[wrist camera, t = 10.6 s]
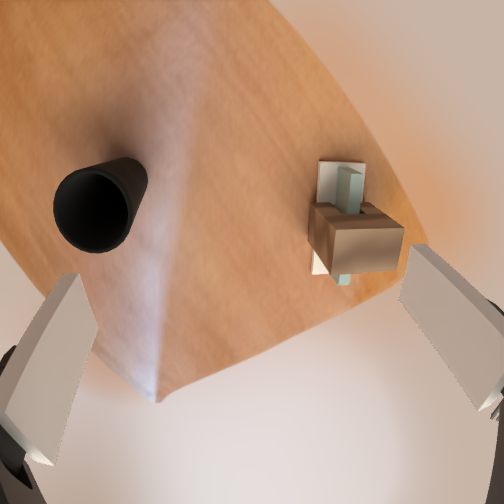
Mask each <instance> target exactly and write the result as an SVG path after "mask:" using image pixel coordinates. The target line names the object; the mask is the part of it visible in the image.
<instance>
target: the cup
mask: <svg viewBox="0 0 504 504" xmlns="http://www.w3.org/2000/svg"><path fill="white" fill-rule="evenodd" d="M147 184H148V178H147V173H146V171H145V169H144V167H143V166H142V165H141V164H140V163H139V162H138V161H136V160H134V159H131V158H121V159H117V160H113V161H109V162H105V163H101V164H97V165H94V166H90V167H86V168H83V169H80V170H76V171H74V172H72V173H71V174H69V175H68V176H66V178H65V179H64V180H63V181H62V182H61V183H60V185H59V187H58V189H57V191H56V193H55V197H54V202H53V213H54V217H55V222H56V224H57V226H58V229H59V231H60V232H61V234H62V235H63V236H64V238H65V239H66V240H67V241H68V242H69V243H70V244H72V245H73V246H74V247H76V248H78V249H80V250H82V251H85V252H89V253H104V252H108V251H110V250H112V249H114V248H116V247H118V246H119V245H120V244H121V243H122V242H123V241H124V240H125V238H126V237H127V235H128V234H129V231H130V229H131V226H132V223H133V221H134V218H135V216H136V213H137V210H138V208H139V205H140V203H141V201H142V198H143V196H144V193H145V191H146V188H147Z"/></svg>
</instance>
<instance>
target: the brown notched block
mask: <svg viewBox="0 0 504 504" xmlns="http://www.w3.org/2000/svg"><path fill="white" fill-rule="evenodd" d="M404 229H405V228H404V227H403V226H401V225H400V224H398V223H397V222H396V221H394V220H393V219H392V218H390V217H389V216H387V215H386V214H385V213H383V212H382V211H380V210H379V209H378V208H376V207H375V206H373V205H372V204H370V203H369V202H360V211H359V214H342V213H341V212H340V211H339V210H338V209H337V208H335V207H334V206H333V205H332V204H331V203H330V202H316V203H310V215H309V230H308V242H309V243H310V245H311V246H312V248H313V249H314V251H315V252H316V254H317V255H318V257H319V258H320V260H321V261H322V263H323V264H324V266H325V268H326V269H327V271H328V272H329V274H330V275H344V274H357V273H369V272H381V271H393V270H397V265H398V260H399V255H400V250H401V245H402V240H403V235H404Z"/></svg>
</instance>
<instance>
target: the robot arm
mask: <svg viewBox="0 0 504 504" xmlns="http://www.w3.org/2000/svg"><path fill="white" fill-rule="evenodd" d="M399 301H400V303H401V304H402V305H403V307H404V308H405V309H406V310H407V312H408V313H409V314H410V316H411V317H412V318H413V320H414V321H415V322H416V324H417V325H418V326H419V328H420V329H421V330H422V332H423V333H424V334H425V336H426V337H427V338H428V340H429V341H430V342H431V344H432V345H433V346H434V348H435V349H436V351H437V352H438V353H439V355H440V356H441V358H442V359H443V360H444V362H445V363H446V365H447V366H448V368H449V369H450V370H451V372H452V373H453V375H454V376H455V378H456V379H457V381H458V382H459V384H460V385H461V387H462V388H463V390H464V391H465V393H466V394H467V396H468V397H469V398H470V400H471V402H472V403H473V405H474V406H475V408H476V409H477V411H479V410H481V409H483V408H485V407H487V406H489V405H491V404H492V403H493V402H494V401H495V399H496V398H497V396H498V395H499V393H500V392H501V393H502V395H503V396H504V312H503V311H502V310H501V309H500V308H499V307H498V306H497V305H496V304H494V303H493V302H491V301H489V300H488V299H486V298H485V297H484V296H483V295H481V293H479V292H478V291H477V290H476V289H475V288H474V287H473V286H472V285H471V284H470V283H469V282H468V281H467V280H466V279H465V278H463V277H462V276H461V275H460V274H459V273H458V272H457V271H456V270H454V269H453V268H452V267H451V266H450V265H449V264H448V263H447V262H446V261H444V260H443V259H442V258H441V257H440V256H439V255H438V254H436V253H435V252H434V251H433V250H432V249H431V248H429V247H428V246H427V245H426V244H417V245H411V246H410V252H409V257H408V262H407V266H406V271H405V275H404V280H403V284H402V289H401V293H400V297H399ZM98 329H99V328H98V325H97V323H96V320H95V318H94V315H93V312H92V309H91V307H90V304H89V301H88V298H87V295H86V292H85V289H84V286H83V283H82V280H81V277H80V274H79V273H68V274H63V275H62V276H61V277H60V279H59V280H58V282H57V283H56V285H55V286H54V288H53V289H52V290H51V292H50V293H49V295H48V296H47V298H46V299H45V301H44V303H43V304H42V306H41V307H40V309H39V310H38V312H37V313H36V315H35V317H34V318H33V320H32V321H31V323H30V325H29V327H28V328H27V330H26V331H25V333H24V335H23V337H22V338H21V340H20V342H19V343H18V345H17V346H16V345H14V346H13V347H12V348H11V349H10V350H9V351H8V352H7V353H6V354H5V355H4V356H3V358H2V360H1V362H0V504H47V503H46V502H45V500H44V498H43V496H42V494H41V492H40V490H39V487H38V485H37V483H36V481H35V479H34V477H33V475H32V472H31V470H30V468H29V466H28V464H27V463H26V461H25V460H24V457H25V454H26V453H27V454H28V455H29V456H30V457H31V458H33V460H35V461H36V462H39V463H43V464H48V465H52V466H55V464H56V460H57V456H58V452H59V448H60V444H61V441H62V437H63V433H64V430H65V426H66V423H67V419H68V416H69V413H70V409H71V406H72V403H73V400H74V397H75V394H76V391H77V387H78V384H79V381H80V378H81V375H82V373H83V370H84V367H85V364H86V361H87V358H88V356H89V353H90V350H91V348H92V345H93V342H94V340H95V337H96V335H97V332H98ZM498 412H500V415H499V416H498V417H497V419H496V420H497V421H499V426H498V436H497V444H496V452H495V459H494V465H493V471H492V476H491V481H490V486H489V491H488V495H487V499H486V503H485V504H504V398H503V400H502V401H501V402H500V404H499V405H498V406H497V408H496V409H495V410H494V412H493V413H492V414H491V418H490V419H493V418H494V417H495V416H496V414H497V413H498Z"/></svg>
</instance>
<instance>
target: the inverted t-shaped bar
mask: <svg viewBox="0 0 504 504" xmlns="http://www.w3.org/2000/svg"><path fill="white" fill-rule="evenodd" d="M365 170H366V164H365V163H357V162H334V161H319V163H318V182H317V198H316V202H330V203H331V204H332V205H333V206H334V207H335V208H337V209H338V210H339V211H340V212H341V213H342V214H359V211H360V202H362V201H363V191H364V181H365ZM311 273H312V275H314V274H328V273H329V272H328V271H327V269H326V268H325V266H324V264H323V263H322V261H321V260H320V258H319V257H318V255H317V254H316V252H315V251H314V249H313V251H312V262H311ZM350 276H351V274H344V275H332V277H333V278H334V280H335V281H336V283H337V284H338V286H339V285H349V282H350Z"/></svg>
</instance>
